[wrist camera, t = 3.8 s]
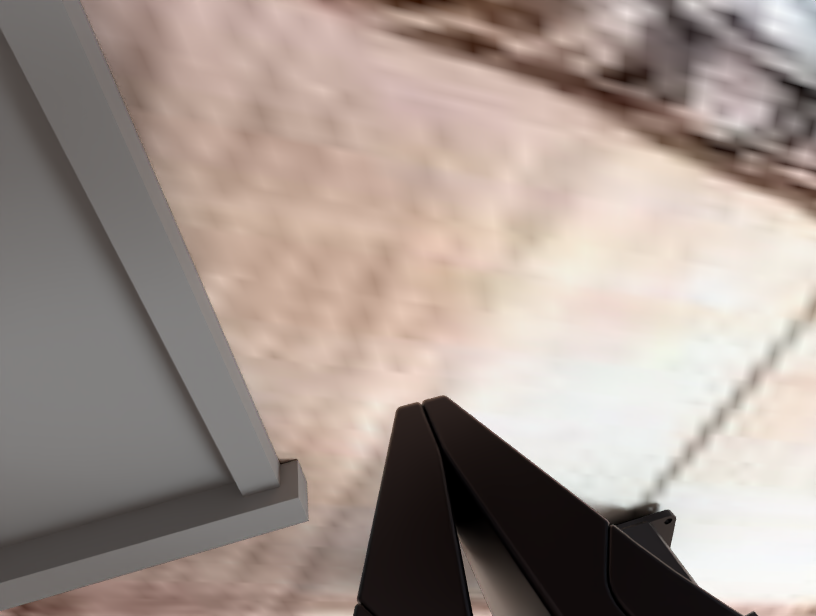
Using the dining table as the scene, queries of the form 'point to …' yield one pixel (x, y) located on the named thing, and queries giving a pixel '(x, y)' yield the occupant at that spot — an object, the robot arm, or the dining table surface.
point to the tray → (107, 341)
